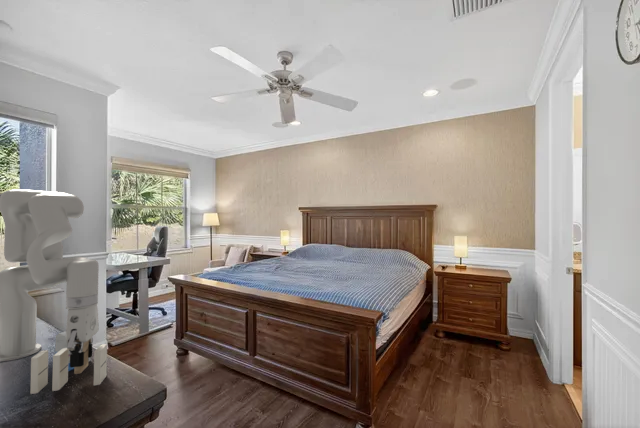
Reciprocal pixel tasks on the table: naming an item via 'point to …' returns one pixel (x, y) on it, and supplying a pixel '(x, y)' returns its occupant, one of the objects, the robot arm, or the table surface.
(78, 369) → the domino
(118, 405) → the table surface
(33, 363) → the domino
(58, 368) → the domino
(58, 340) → the ink box
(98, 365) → the domino
